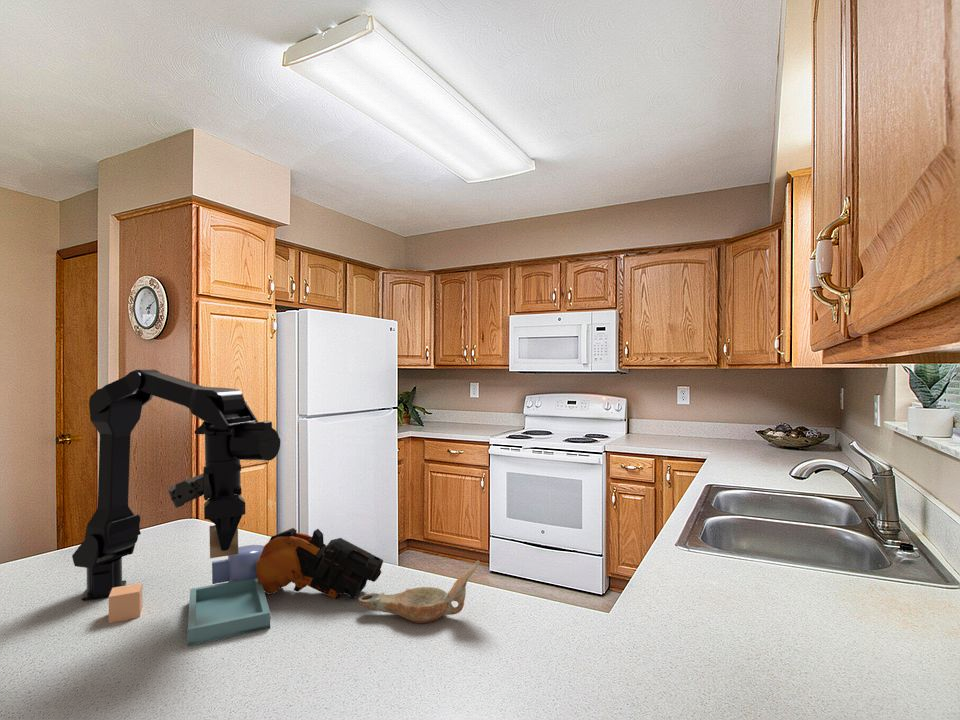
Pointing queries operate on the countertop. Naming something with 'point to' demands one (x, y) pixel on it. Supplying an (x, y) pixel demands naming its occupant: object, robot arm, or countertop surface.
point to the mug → (237, 565)
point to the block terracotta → (125, 602)
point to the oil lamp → (421, 601)
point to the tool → (315, 564)
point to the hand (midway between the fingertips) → (224, 546)
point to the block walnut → (215, 545)
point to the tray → (227, 610)
